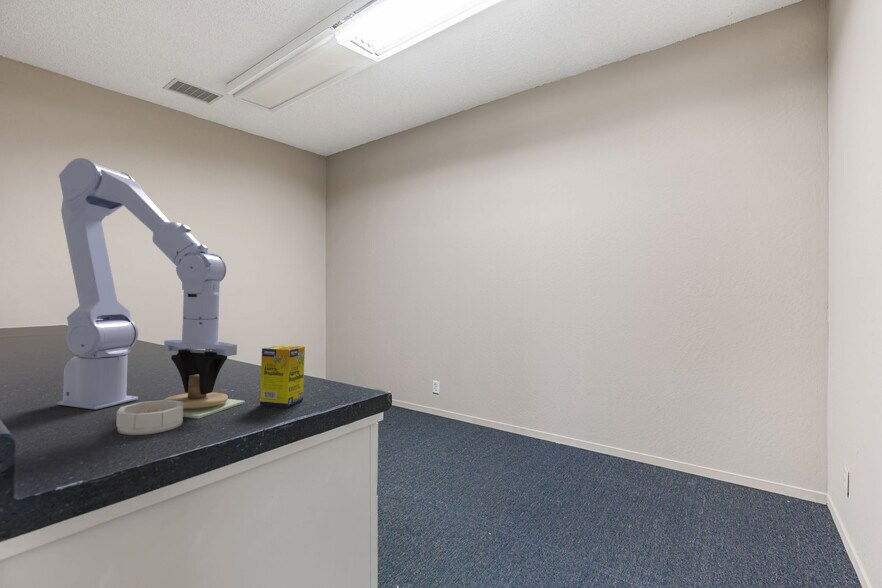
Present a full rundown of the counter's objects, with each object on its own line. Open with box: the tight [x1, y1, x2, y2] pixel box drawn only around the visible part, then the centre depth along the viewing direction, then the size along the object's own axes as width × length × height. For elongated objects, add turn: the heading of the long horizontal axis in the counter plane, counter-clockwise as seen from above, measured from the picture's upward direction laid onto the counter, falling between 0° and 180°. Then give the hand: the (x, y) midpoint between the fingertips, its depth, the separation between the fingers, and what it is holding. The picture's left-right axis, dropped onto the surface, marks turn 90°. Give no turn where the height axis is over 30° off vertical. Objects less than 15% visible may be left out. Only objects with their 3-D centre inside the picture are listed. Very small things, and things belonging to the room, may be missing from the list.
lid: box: [164, 374, 229, 408], centre depth 77 cm, size 10×10×5 cm
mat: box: [183, 398, 246, 420], centre depth 77 cm, size 11×11×1 cm
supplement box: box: [259, 344, 306, 409], centre depth 82 cm, size 6×6×11 cm
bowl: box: [115, 399, 184, 436], centre depth 66 cm, size 8×8×3 cm
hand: (198, 392), depth 77 cm, fingers closed on lid, 3 cm apart
